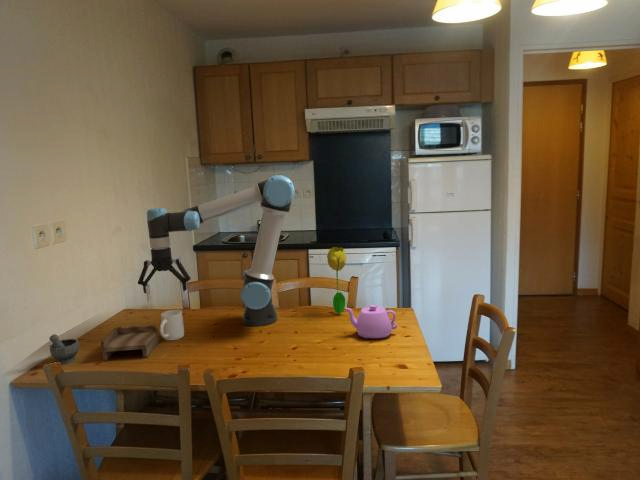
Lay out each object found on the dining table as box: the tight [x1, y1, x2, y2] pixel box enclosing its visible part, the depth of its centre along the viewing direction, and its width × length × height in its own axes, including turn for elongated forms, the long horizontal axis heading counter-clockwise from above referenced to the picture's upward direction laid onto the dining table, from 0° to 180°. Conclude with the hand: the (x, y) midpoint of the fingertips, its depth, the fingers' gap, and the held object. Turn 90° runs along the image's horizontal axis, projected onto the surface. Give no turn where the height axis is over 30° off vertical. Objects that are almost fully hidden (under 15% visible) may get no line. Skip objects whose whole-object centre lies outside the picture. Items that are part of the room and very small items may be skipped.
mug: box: [159, 309, 185, 341], centre depth 195 cm, size 12×8×10 cm
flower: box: [326, 246, 347, 315], centre depth 211 cm, size 9×8×30 cm
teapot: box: [344, 304, 398, 339], centre depth 186 cm, size 20×13×12 cm, turn 84°
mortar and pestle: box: [48, 333, 80, 366], centre depth 177 cm, size 11×9×12 cm
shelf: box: [100, 324, 160, 362], centre depth 184 cm, size 16×15×8 cm
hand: (166, 299), depth 193 cm, fingers open, 13 cm apart
